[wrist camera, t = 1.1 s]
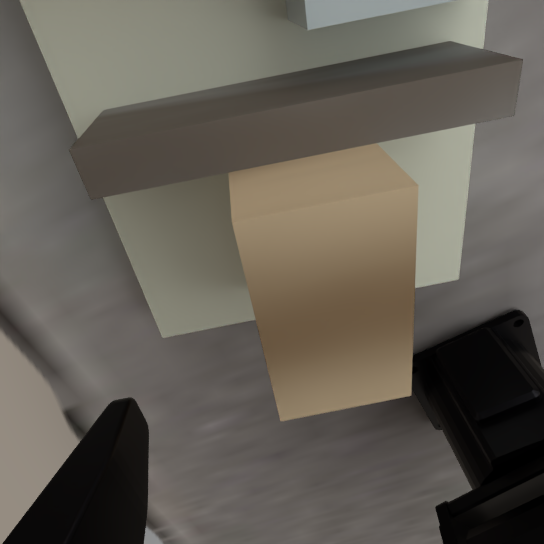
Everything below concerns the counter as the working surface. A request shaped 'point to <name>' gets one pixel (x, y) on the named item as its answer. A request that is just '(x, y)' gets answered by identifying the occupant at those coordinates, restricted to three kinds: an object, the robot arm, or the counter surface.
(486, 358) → the robot arm
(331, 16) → the tile
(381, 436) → the counter surface
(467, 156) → the board
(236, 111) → the scraper
